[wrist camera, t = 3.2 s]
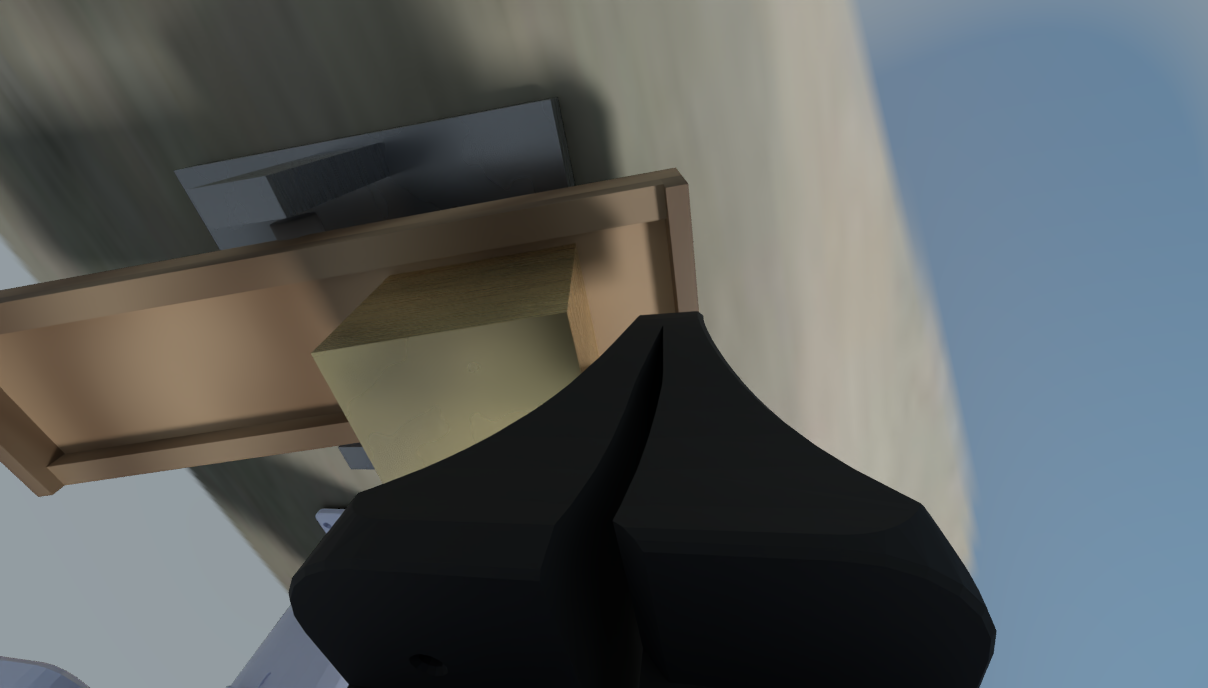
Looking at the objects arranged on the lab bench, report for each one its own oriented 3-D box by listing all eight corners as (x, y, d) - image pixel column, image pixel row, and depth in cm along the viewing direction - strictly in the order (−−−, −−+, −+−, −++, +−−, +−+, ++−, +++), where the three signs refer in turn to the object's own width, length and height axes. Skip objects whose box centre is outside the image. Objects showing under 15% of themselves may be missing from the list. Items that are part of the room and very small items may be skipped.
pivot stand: (612, 375, 19) (584, 477, 15) (319, 388, 22) (222, 474, 18) (557, 96, 14) (489, 120, 10) (193, 165, 18) (15, 207, 13)
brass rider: (600, 361, 14) (601, 457, 11) (436, 386, 14) (384, 486, 11) (575, 243, 12) (566, 311, 9) (389, 275, 13) (310, 353, 9)
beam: (669, 145, 13) (686, 165, 10) (689, 357, 16) (707, 411, 14) (-20, 273, 15) (-154, 317, 12) (127, 442, 18) (47, 505, 15)
